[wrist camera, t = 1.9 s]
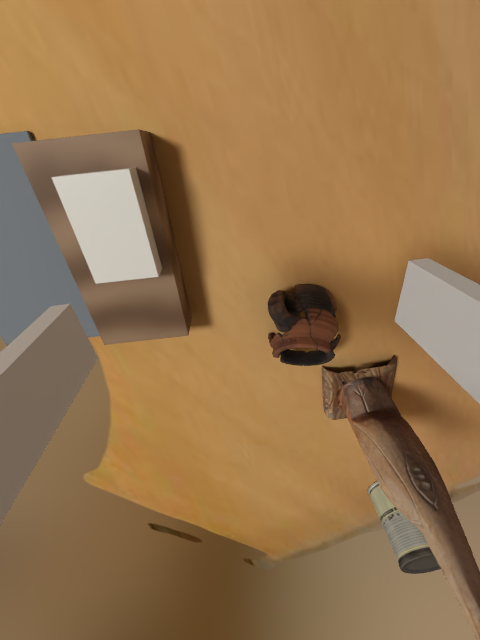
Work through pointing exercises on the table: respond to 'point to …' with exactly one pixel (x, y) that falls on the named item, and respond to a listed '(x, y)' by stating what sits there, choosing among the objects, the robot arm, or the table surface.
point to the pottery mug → (304, 325)
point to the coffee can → (403, 535)
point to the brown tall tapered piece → (406, 474)
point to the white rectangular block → (110, 224)
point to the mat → (29, 253)
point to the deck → (103, 298)
